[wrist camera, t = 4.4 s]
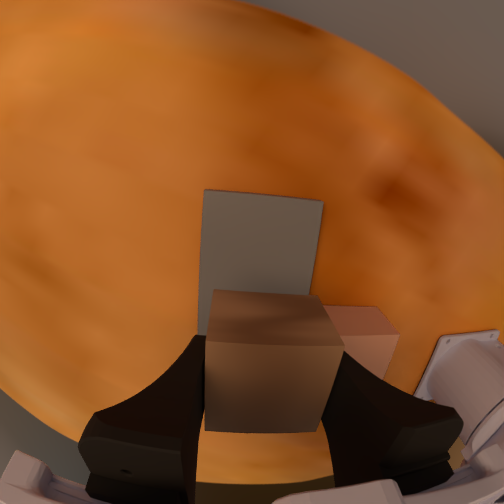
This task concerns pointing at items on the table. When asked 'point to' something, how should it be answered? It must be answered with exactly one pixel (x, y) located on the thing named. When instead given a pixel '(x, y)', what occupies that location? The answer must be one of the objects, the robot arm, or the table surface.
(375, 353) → the terracotta brick
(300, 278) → the baseplate
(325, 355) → the walnut brick
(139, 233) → the table surface
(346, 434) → the robot arm
